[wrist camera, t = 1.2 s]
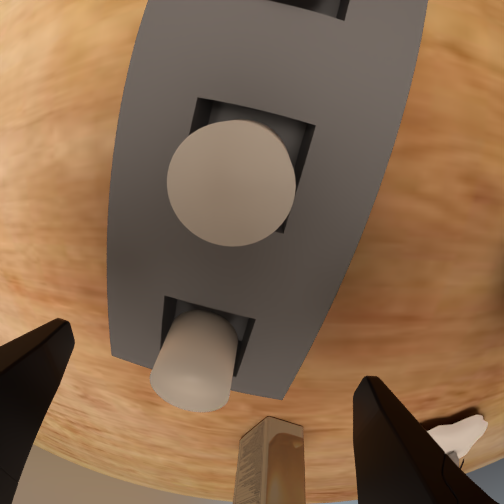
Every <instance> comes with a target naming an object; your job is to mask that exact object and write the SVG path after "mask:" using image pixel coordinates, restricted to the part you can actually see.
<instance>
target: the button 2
mask: <svg viewBox="0 0 504 504" xmlns="http://www.w3.org/2000/svg"><path fill="white" fill-rule="evenodd" d="M237 345H238V336H237V333H236V331H235V329H234V327H233V326H232V325H231V324H230V323H229V322H228V321H227V320H226V319H224V318H223V317H221V316H219V315H217V314H215V313H212V312H209V311H204V310H191V311H187V312H184V313H182V314H180V315H179V316H177V317H176V318H175V319H174V321H173V323H172V325H171V327H170V330H169V332H168V334H167V336H166V339H165V341H164V343H163V346H162V348H161V350H160V353H159V355H158V357H157V360H156V362H155V364H154V367H153V369H152V371H151V374H150V383H151V386H152V388H153V389H154V391H155V392H156V393H157V394H158V395H159V396H160V397H161V398H162V399H163V400H165V401H166V402H168V403H170V404H171V405H173V406H176V407H178V408H181V409H184V410H188V411H193V412H210V411H214V410H217V409H220V408H221V407H223V406H224V405H225V404H226V403H227V402H228V400H229V395H230V389H231V382H232V376H233V370H234V364H235V358H236V352H237Z"/></svg>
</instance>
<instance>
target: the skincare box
mask: <svg viewBox="0 0 504 504" xmlns="http://www.w3.org/2000/svg"><path fill="white" fill-rule="evenodd" d="M233 504H306V502H305V464H304V439H303V427H302V426H298V425H295V424H292V423H289V422H285V421H282V420H279V419H276V418H273V417H266V418H265V419H264V420H263V421H262V422H260V423H259V424H258V425H257V426H255V427H254V428H253V429H252V430H251V431H250V432H248V433H247V434H246V435H245V436H244V437H243V438H242V439H240V445H239V454H238V463H237V472H236V480H235V489H234V498H233Z"/></svg>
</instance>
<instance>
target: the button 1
mask: <svg viewBox="0 0 504 504" xmlns="http://www.w3.org/2000/svg"><path fill="white" fill-rule="evenodd" d="M295 189H296V183H295V174H294V169H293V166H292V163H291V160H290V157H289V154H288V152H287V149H286V146H285V144H284V142H283V141H282V139H281V138H280V137H279V135H278V134H277V133H276V132H275V131H274V130H272V129H271V128H270V127H268V126H266V125H265V124H262V123H260V122H257V121H254V120H248V119H238V120H230V121H223V122H217V123H213V124H209V125H207V126H204V127H202V128H200V129H198V130H196V131H195V132H193V133H192V134H191V135H189V136H188V137H187V138H186V139H185V140H184V141H183V142H182V143H181V144H180V146H179V147H178V148H177V150H176V151H175V153H174V155H173V157H172V159H171V162H170V165H169V169H168V174H167V191H168V197H169V200H170V203H171V206H172V208H173V210H174V212H175V214H176V215H177V217H178V219H179V220H180V221H181V222H182V224H183V225H184V226H185V227H186V228H187V229H188V230H189V231H191V232H192V233H193V234H195V235H196V236H198V237H199V238H201V239H203V240H205V241H208V242H210V243H213V244H217V245H222V246H232V247H233V246H244V245H249V244H252V243H256V242H258V241H260V240H262V239H264V238H266V237H267V236H269V235H270V234H272V233H273V232H274V231H275V230H277V229H278V227H279V226H280V225H281V224H282V223H283V222H284V220H285V219H286V217H287V216H288V214H289V212H290V210H291V207H292V205H293V201H294V197H295Z"/></svg>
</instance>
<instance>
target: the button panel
mask: <svg viewBox="0 0 504 504" xmlns="http://www.w3.org/2000/svg"><path fill="white" fill-rule="evenodd" d="M427 3H428V0H148V2H147V5H146V8H145V11H144V14H143V18H142V21H141V24H140V27H139V31H138V34H137V38H136V41H135V45H134V49H133V53H132V57H131V61H130V65H129V69H128V73H127V78H126V82H125V87H124V92H123V97H122V102H121V108H120V113H119V119H118V125H117V132H116V139H115V146H114V154H113V162H112V171H111V181H110V193H109V208H108V228H107V297H108V317H109V331H110V343H111V353H112V356H115V357H117V358H120V359H123V360H126V361H129V362H132V363H134V364H137V365H140V366H144V367H147V368H150V369H153V367H154V364H155V362H156V360H157V357H158V355H159V353H160V350H161V348H162V346H163V343H164V341H165V339H166V336H167V334H168V332H169V330H170V327H171V325H172V323H173V321H174V319H175V318H176V317H177V316H179V315H180V314H182V313H184V312H187V311H191V310H204V311H209V312H212V313H215V314H217V315H219V316H221V317H223V318H224V319H226V320H227V321H228V322H229V323H230V324H231V325H232V326H233V327H234V329H235V331H236V333H237V336H238V345H237V352H236V358H235V364H234V370H233V376H232V382H231V389H230V390H232V391H237V392H241V393H246V394H251V395H256V396H262V397H267V398H273V399H279V400H283V398H284V396H285V394H286V392H287V391H288V389H289V387H290V385H291V383H292V382H293V380H294V378H295V376H296V374H297V372H298V371H299V369H300V367H301V365H302V363H303V361H304V359H305V357H306V355H307V353H308V352H309V350H310V348H311V346H312V344H313V342H314V340H315V338H316V336H317V334H318V332H319V330H320V328H321V326H322V324H323V322H324V319H325V317H326V315H327V313H328V311H329V309H330V307H331V305H332V303H333V300H334V298H335V296H336V294H337V292H338V289H339V287H340V285H341V283H342V280H343V278H344V276H345V274H346V271H347V269H348V267H349V264H350V262H351V260H352V257H353V255H354V253H355V250H356V248H357V245H358V243H359V240H360V238H361V235H362V233H363V230H364V228H365V225H366V223H367V220H368V218H369V215H370V212H371V210H372V207H373V204H374V202H375V199H376V196H377V193H378V191H379V188H380V185H381V182H382V179H383V176H384V173H385V170H386V167H387V164H388V161H389V158H390V155H391V152H392V149H393V146H394V143H395V139H396V136H397V133H398V130H399V126H400V123H401V119H402V116H403V112H404V109H405V105H406V101H407V98H408V94H409V90H410V86H411V82H412V78H413V74H414V70H415V65H416V61H417V56H418V52H419V47H420V42H421V37H422V32H423V27H424V21H425V15H426V9H427ZM238 119H248V120H254V121H257V122H260V123H262V124H265V125H266V126H268V127H270V128H271V129H272V130H274V131H275V132H276V133H277V134H278V135H279V137H280V138H281V139H282V141H283V142H284V144H285V146H286V149H287V152H288V154H289V157H290V160H291V163H292V166H293V169H294V174H295V183H296V189H295V197H294V201H293V205H292V207H291V210H290V212H289V214H288V216H287V217H286V219H285V220H284V222H283V223H282V224H281V225H280V226H279V227H278V229H277V230H275V231H274V232H273V233H272V234H270V235H269V236H267V237H266V238H264V239H262V240H260V241H258V242H256V243H252V244H249V245H244V246H233V247H232V246H222V245H217V244H213V243H210V242H208V241H205V240H203V239H201V238H199V237H198V236H196V235H195V234H193V233H192V232H191V231H189V230H188V229H187V228H186V227H185V226H184V225H183V224H182V222H181V221H180V220H179V219H178V217H177V215H176V214H175V212H174V210H173V208H172V206H171V203H170V200H169V197H168V191H167V174H168V169H169V165H170V162H171V159H172V157H173V155H174V153H175V151H176V150H177V148H178V147H179V146H180V144H181V143H182V142H183V141H184V140H185V139H186V138H187V137H188V136H189V135H191V134H192V133H193V132H195V131H196V130H198V129H200V128H202V127H204V126H207V125H209V124H213V123H217V122H223V121H230V120H238Z"/></svg>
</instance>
